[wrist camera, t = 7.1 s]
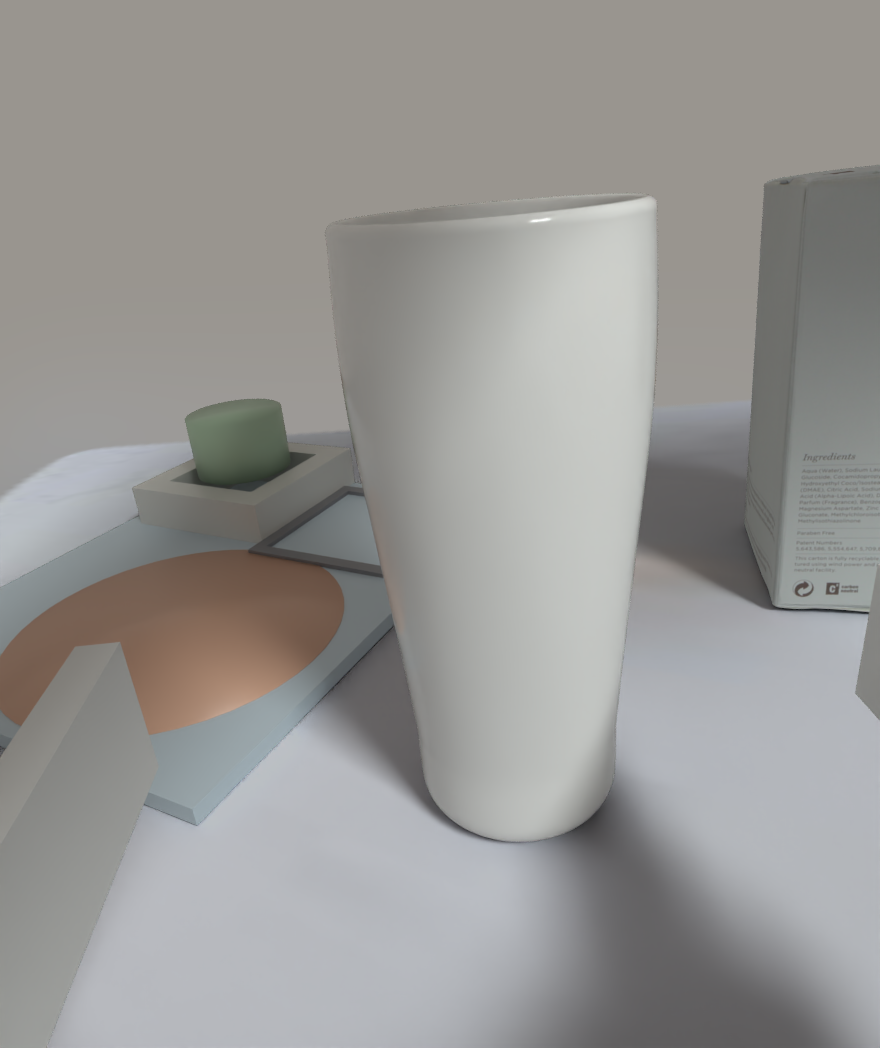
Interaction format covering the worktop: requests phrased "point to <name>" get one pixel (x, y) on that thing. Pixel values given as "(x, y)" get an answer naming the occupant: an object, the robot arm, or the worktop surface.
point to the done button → (238, 441)
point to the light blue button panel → (204, 635)
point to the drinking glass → (505, 481)
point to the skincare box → (817, 392)
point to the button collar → (244, 496)
